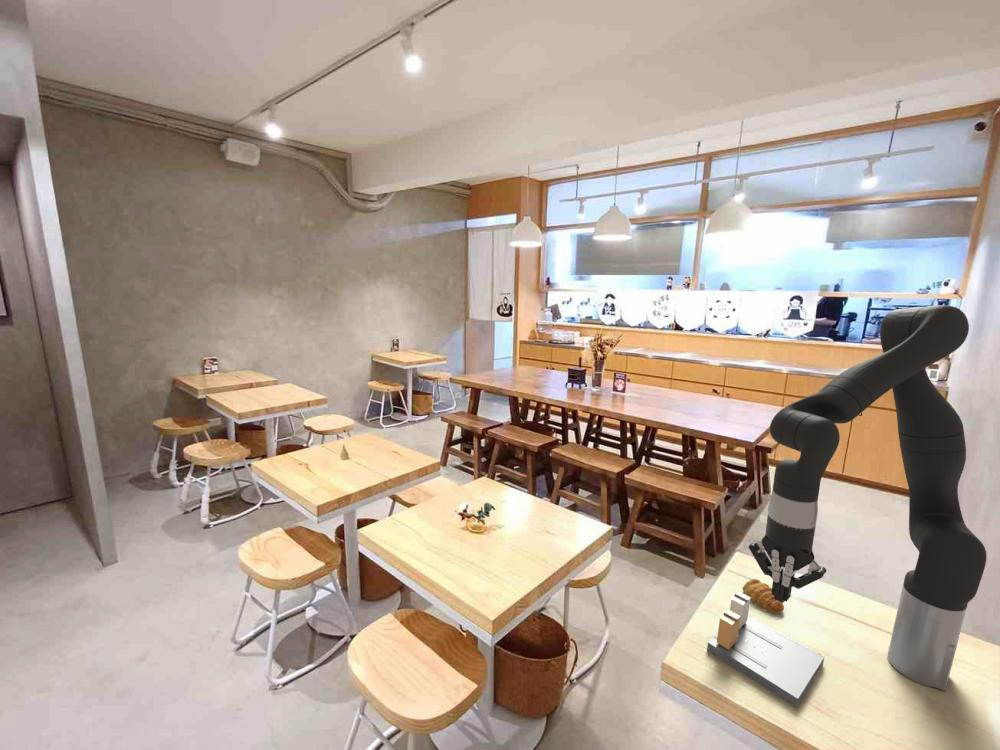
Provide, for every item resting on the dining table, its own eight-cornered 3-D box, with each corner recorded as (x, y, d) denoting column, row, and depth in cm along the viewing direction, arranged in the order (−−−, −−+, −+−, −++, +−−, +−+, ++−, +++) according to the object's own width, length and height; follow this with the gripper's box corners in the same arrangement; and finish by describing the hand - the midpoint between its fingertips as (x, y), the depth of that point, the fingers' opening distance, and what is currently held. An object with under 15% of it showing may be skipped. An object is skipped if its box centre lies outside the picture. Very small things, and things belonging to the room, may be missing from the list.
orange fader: (737, 640, 96) (741, 614, 95) (728, 649, 94) (732, 623, 92) (725, 633, 98) (728, 607, 97) (716, 642, 95) (720, 615, 94)
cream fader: (747, 620, 102) (751, 595, 101) (739, 628, 99) (743, 603, 98) (735, 614, 104) (739, 589, 103) (727, 622, 101) (731, 597, 100)
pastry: (791, 613, 108) (793, 599, 108) (769, 618, 106) (771, 604, 106) (759, 588, 117) (761, 575, 116) (738, 593, 115) (740, 579, 115)
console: (822, 665, 93) (824, 656, 93) (796, 707, 83) (798, 698, 83) (738, 618, 106) (739, 610, 106) (706, 650, 96) (708, 641, 96)
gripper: (840, 524, 80) (826, 609, 84) (761, 498, 90) (751, 575, 94) (828, 538, 76) (814, 628, 79) (745, 509, 86) (736, 590, 89)
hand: (780, 599), depth 86 cm, fingers closed
